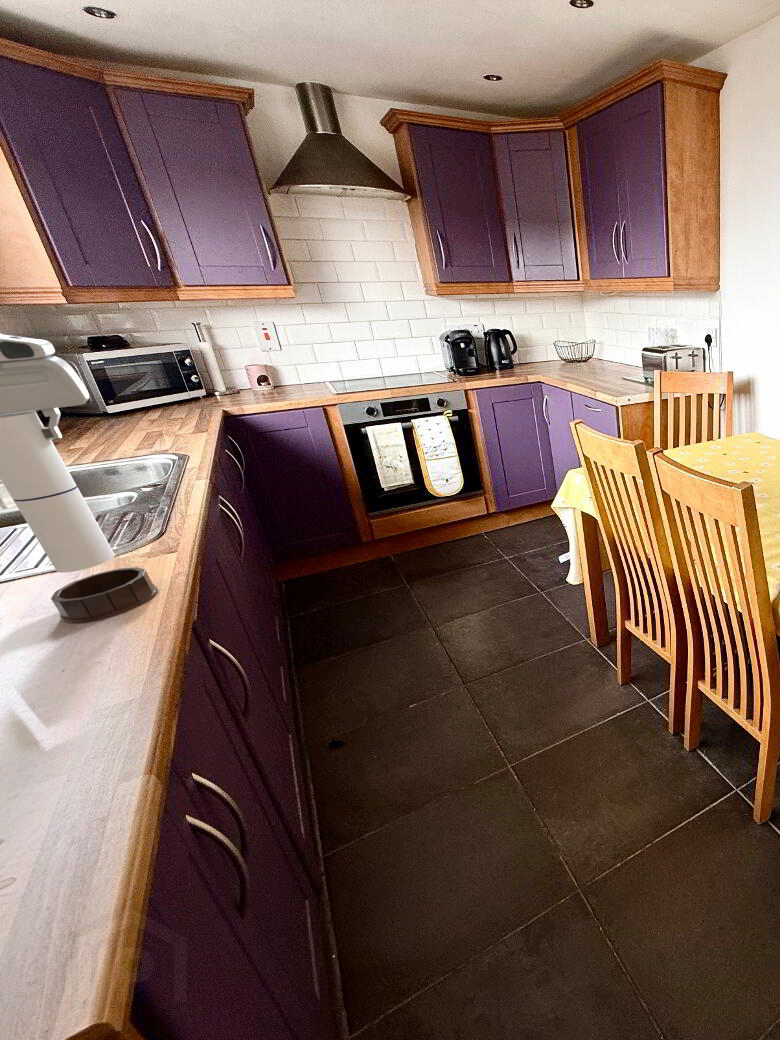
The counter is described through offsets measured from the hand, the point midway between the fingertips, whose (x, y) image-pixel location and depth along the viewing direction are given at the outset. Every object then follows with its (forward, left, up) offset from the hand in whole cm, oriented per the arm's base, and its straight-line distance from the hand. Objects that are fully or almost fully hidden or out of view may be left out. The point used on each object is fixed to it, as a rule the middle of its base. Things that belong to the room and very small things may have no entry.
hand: (17, 444), depth 89 cm
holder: (0, 0, -29) cm, 29 cm away
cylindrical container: (0, 0, -21) cm, 21 cm away
